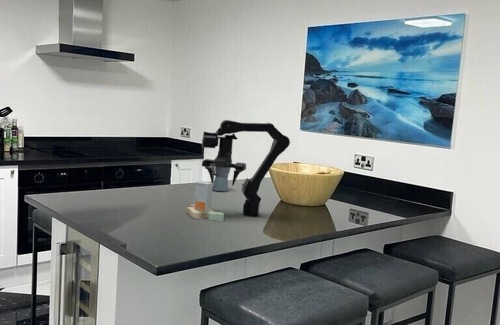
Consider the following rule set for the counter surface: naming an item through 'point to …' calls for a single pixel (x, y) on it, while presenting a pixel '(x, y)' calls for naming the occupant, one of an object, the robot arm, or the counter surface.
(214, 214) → the sage brick
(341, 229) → the counter surface
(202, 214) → the beech slab
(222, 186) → the moka pot
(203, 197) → the skincare box
